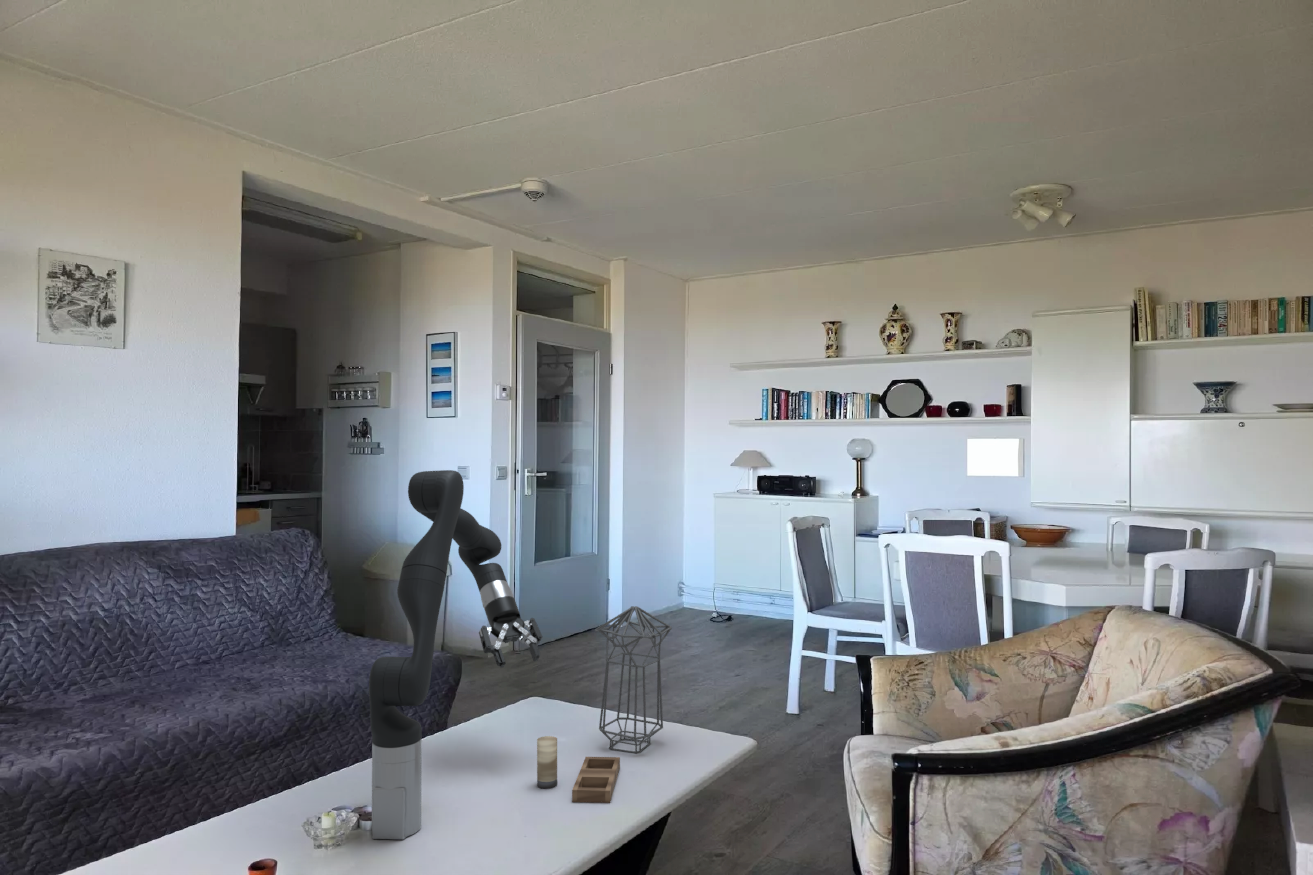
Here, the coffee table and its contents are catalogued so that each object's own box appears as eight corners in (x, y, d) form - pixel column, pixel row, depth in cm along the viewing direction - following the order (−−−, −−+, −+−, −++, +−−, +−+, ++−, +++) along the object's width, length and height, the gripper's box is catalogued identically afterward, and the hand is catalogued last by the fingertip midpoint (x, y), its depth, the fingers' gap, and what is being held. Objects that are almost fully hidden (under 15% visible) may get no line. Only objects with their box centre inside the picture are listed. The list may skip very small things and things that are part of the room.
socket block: (610, 802, 179) (610, 790, 179) (572, 802, 179) (572, 790, 179) (619, 768, 199) (619, 757, 199) (585, 767, 199) (585, 756, 199)
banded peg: (555, 789, 186) (555, 742, 186) (535, 788, 187) (535, 742, 187) (558, 781, 191) (558, 736, 191) (539, 781, 191) (539, 736, 191)
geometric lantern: (618, 733, 224) (621, 599, 225) (672, 743, 217) (676, 605, 218) (587, 751, 210) (591, 608, 211) (644, 762, 203) (648, 614, 204)
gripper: (475, 599, 200) (496, 660, 192) (530, 591, 209) (552, 649, 200) (467, 616, 205) (486, 676, 196) (521, 608, 213) (542, 665, 204)
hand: (520, 662), depth 198 cm, fingers open, 8 cm apart
